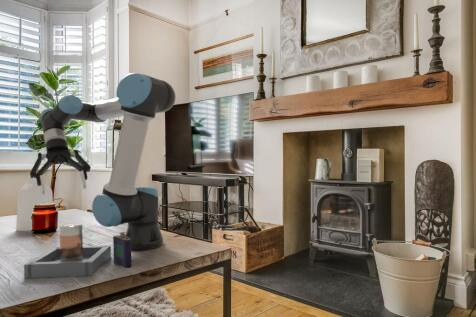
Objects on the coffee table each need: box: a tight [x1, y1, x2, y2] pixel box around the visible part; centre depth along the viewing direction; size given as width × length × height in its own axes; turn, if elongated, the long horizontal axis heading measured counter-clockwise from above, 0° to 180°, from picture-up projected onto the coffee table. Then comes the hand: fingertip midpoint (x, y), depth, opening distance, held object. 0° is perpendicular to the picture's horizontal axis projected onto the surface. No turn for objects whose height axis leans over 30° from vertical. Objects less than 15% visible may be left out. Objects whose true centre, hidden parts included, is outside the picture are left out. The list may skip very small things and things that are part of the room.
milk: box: [15, 175, 54, 232], centre depth 167 cm, size 12×12×26 cm
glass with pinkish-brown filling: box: [59, 223, 84, 261], centre depth 108 cm, size 6×6×12 cm
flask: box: [112, 231, 133, 269], centre depth 109 cm, size 9×3×11 cm, turn 48°
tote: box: [23, 244, 112, 279], centre depth 107 cm, size 19×19×4 cm
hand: (64, 189), depth 123 cm, fingers open, 13 cm apart
